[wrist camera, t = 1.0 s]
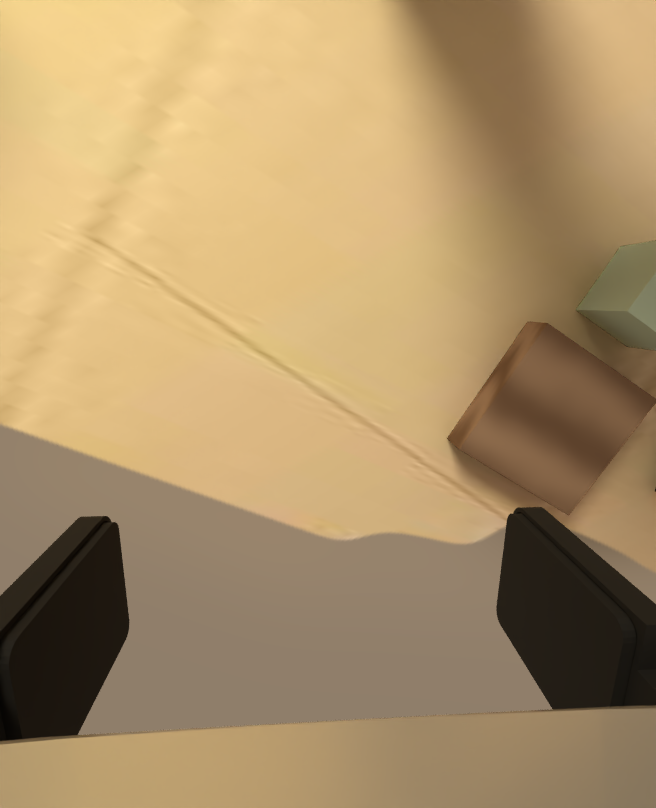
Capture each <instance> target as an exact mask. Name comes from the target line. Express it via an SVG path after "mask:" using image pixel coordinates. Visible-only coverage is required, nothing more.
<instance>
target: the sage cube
mask: <svg viewBox="0 0 656 808" xmlns="http://www.w3.org/2000/svg"><path fill="white" fill-rule="evenodd" d="M576 310H577V311H578V312H580V313H581V314H582V315H584V316H585V317H586V318H588V319H589V320H591V321H592V322H593V323H595V324H596V325H598V326H599V327H600V328H602V329H603V330H605V331H606V332H607V333H609V334H610V335H612V336H613V337H614V338H616V339H617V340H619V341H620V342H621V343H623V344H624V345H625V346H627V347H634V348H641V349H648V350H656V240H655V241H649V242H644V243H638V244H632V245H626V246H620V248H619V249H618V251H617V252H616V253H615V255H614V256H613V258H612V259H611V261H610V262H609V263H608V265H607V266H606V268H605V269H604V270H603V272H602V273H601V275H600V276H599V278H598V279H597V280H596V282H595V283H594V285H593V286H592V287H591V289H590V290H589V292H588V293H587V294H586V296H585V297H584V299H583V300H582V302H581V303H580V304H579V306H578V307H577V309H576Z"/></svg>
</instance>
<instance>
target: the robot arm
mask: <svg viewBox="0 0 656 808" xmlns="http://www.w3.org/2000/svg"><path fill="white" fill-rule="evenodd" d="M123 571H124V570H123V562H122V553H121V544H120V535H119V528H118V525H117V523H115V522H111V520H110V519H109V517H107V516H94V517H80V518H78V519H77V520H76V521H75V522H74V523H73V524H72V525H71V526H70V527H69V528H68V529H67V530H66V531H65V532H64V533H63V534H62V535H61V536H60V537H59V538H58V539H57V540H56V541H55V542H54V543H53V544H52V545H51V546H50V547H49V548H48V549H47V550H46V551H45V552H44V553H43V554H42V555H41V556H40V557H39V558H38V559H37V560H36V561H35V562H34V563H33V564H32V565H31V566H30V567H29V568H28V569H27V570H26V571H25V572H24V573H23V574H22V575H21V576H20V577H19V578H18V579H17V580H16V581H15V582H14V583H13V584H12V585H11V586H10V587H9V588H8V589H7V590H6V591H5V592H4V593H3V594H2V595H1V596H0V808H656V604H655V603H654V602H653V601H651V600H650V599H649V598H648V597H647V596H646V595H644V594H643V593H642V592H641V591H640V590H639V589H637V588H636V587H635V586H634V585H632V584H631V583H630V582H629V581H628V580H627V579H626V578H625V577H623V576H622V575H621V574H620V573H619V572H617V571H616V570H615V569H614V568H613V567H612V566H610V565H609V564H608V563H607V562H606V561H605V560H603V559H602V558H601V557H600V556H599V555H597V554H596V553H595V552H594V551H593V550H592V549H591V548H589V547H588V546H587V545H586V544H585V543H583V542H582V541H581V540H580V539H579V538H577V536H575V535H574V534H573V533H572V532H571V531H570V530H568V529H567V528H566V527H565V526H564V525H563V524H561V523H560V522H559V521H558V520H557V519H555V518H554V517H553V516H552V515H551V514H550V513H548V512H547V511H546V510H545V509H544V508H542V507H527V508H517V509H515V511H514V514H510V515H509V516H508V518H507V525H506V533H505V542H504V551H503V558H502V566H501V575H500V583H499V591H498V600H497V617H498V620H499V623H500V625H501V626H502V628H503V630H504V631H505V633H506V634H507V636H508V637H509V639H510V641H511V642H512V644H513V646H514V647H515V649H516V651H517V652H518V654H519V655H520V657H521V659H522V660H523V662H524V663H525V665H526V667H527V668H528V670H529V672H530V673H531V675H532V677H533V678H534V680H535V681H536V683H537V685H538V686H539V688H540V689H541V691H542V693H543V694H544V696H545V698H546V699H547V701H548V702H549V704H550V706H551V707H552V709H553V710H531V711H513V712H512V711H510V712H491V713H490V712H489V713H471V714H450V715H431V716H413V717H412V716H411V717H392V718H373V719H355V720H335V721H317V722H299V723H282V724H281V723H280V724H262V725H244V726H227V727H209V728H190V729H174V730H157V731H140V732H124V733H107V734H89V735H78V733H79V731H80V729H81V727H82V725H83V723H84V721H85V719H86V717H87V715H88V713H89V711H90V709H91V707H92V705H93V703H94V701H95V699H96V697H97V695H98V693H99V691H100V689H101V687H102V685H103V683H104V681H105V679H106V678H107V676H108V674H109V671H110V670H111V668H112V666H113V664H114V662H115V660H116V658H117V656H118V654H119V652H120V650H121V648H122V646H123V644H124V642H125V640H126V637H127V634H128V630H129V614H128V607H127V597H126V588H125V579H124V572H123Z"/></svg>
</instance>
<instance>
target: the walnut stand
mask: <svg viewBox="0 0 656 808" xmlns="http://www.w3.org/2000/svg"><path fill="white" fill-rule="evenodd" d="M655 403H656V399H655V398H654V397H652V396H651V395H649V394H648V393H647V392H645V391H644V390H642V389H641V388H639V387H638V386H637V385H635V384H634V383H632V382H631V381H629V380H628V379H627V378H625V377H624V376H622V375H621V374H619V373H618V372H617V371H615V370H614V369H612V368H611V367H609V366H608V365H607V364H605V363H604V362H602V361H601V360H599V359H598V358H597V357H595V356H594V355H592V354H591V353H589V352H588V351H587V350H585V349H584V348H582V347H581V346H579V345H578V344H576V343H575V342H574V341H572V340H571V339H569V338H568V337H566V336H565V335H564V334H562V333H561V332H559V331H558V330H556V329H555V328H554V327H552V326H551V325H549V324H548V323H538V322H527V323H526V325H525V326H524V328H523V329H522V331H521V332H520V334H519V335H518V336H517V338H516V339H515V341H514V342H513V344H512V345H511V347H510V348H509V350H508V351H507V352H506V354H505V355H504V357H503V358H502V360H501V361H500V363H499V364H498V365H497V367H496V368H495V370H494V371H493V373H492V374H491V376H490V377H489V379H488V380H487V381H486V383H485V384H484V386H483V387H482V389H481V390H480V392H479V393H478V394H477V396H476V397H475V399H474V400H473V402H472V403H471V405H470V406H469V407H468V409H467V410H466V412H465V413H464V415H463V416H462V418H461V419H460V421H459V422H458V423H457V425H456V426H455V428H454V429H453V431H452V432H451V434H450V435H449V436H448V438H447V439H448V440H449V441H451V442H452V443H453V444H454V445H455V446H456V447H457V448H458V449H459V450H461V451H463V452H464V453H466V454H468V455H469V456H471V457H473V458H474V459H476V460H478V461H479V462H481V463H483V464H484V465H486V466H488V467H489V468H491V469H493V470H494V471H496V472H498V473H499V474H501V475H502V476H504V477H506V478H507V479H509V480H511V481H512V482H514V483H516V484H517V485H519V486H521V487H522V488H524V489H526V490H527V491H529V492H531V493H532V494H534V495H536V496H537V497H539V498H541V499H542V500H544V501H546V502H547V503H549V504H551V505H552V506H554V507H556V508H557V509H559V510H561V511H562V512H564V513H566V514H567V515H569V514H570V513H571V512H572V511H573V509H574V508H575V507H576V505H577V504H578V503H579V502H580V500H581V499H582V498H583V496H584V495H585V494H586V492H587V491H588V490H589V489H590V487H591V486H592V485H593V483H594V482H595V481H596V479H597V478H598V477H599V476H600V474H601V473H602V472H603V470H604V469H605V468H606V467H607V465H608V464H609V463H610V461H611V460H612V459H613V457H614V456H615V455H616V454H617V452H618V451H619V450H620V448H621V447H622V446H623V444H624V443H625V442H626V441H627V439H628V438H629V437H630V435H631V434H632V433H633V432H634V430H635V429H636V428H637V426H638V425H639V424H640V422H641V421H642V420H643V419H644V417H645V416H646V415H647V413H648V412H649V411H650V410H651V408H652V407H653V406H654V404H655Z"/></svg>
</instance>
